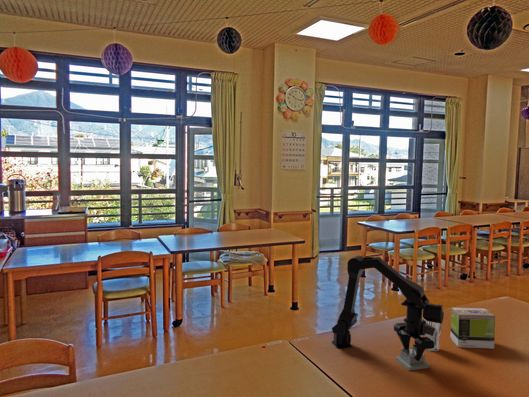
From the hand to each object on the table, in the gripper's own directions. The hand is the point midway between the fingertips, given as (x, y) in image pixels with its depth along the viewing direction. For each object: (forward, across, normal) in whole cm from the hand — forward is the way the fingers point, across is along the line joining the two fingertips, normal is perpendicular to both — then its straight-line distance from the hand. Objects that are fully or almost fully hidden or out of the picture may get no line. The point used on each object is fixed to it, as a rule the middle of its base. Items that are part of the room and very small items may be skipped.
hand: (412, 356), depth 161 cm
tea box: (+3, +10, -36) cm, 38 cm away
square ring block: (+2, 0, 0) cm, 2 cm away
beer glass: (+3, +10, -16) cm, 19 cm away
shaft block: (+3, 0, 0) cm, 3 cm away
